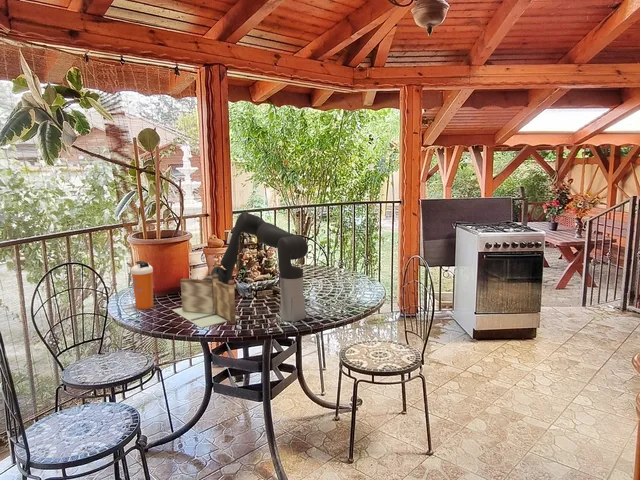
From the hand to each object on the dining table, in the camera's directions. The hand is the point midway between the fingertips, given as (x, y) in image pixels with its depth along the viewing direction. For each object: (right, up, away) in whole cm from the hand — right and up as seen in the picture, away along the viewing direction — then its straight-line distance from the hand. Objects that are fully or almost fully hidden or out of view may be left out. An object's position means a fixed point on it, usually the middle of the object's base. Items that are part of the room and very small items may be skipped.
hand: (191, 297), depth 187 cm
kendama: (+37, 0, +39) cm, 54 cm away
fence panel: (+3, -6, 0) cm, 7 cm away
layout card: (+6, -7, -1) cm, 9 cm away
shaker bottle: (-23, -5, +9) cm, 26 cm away
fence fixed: (+16, -8, -7) cm, 19 cm away
